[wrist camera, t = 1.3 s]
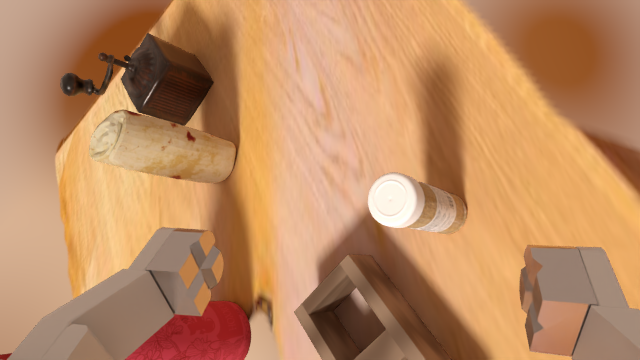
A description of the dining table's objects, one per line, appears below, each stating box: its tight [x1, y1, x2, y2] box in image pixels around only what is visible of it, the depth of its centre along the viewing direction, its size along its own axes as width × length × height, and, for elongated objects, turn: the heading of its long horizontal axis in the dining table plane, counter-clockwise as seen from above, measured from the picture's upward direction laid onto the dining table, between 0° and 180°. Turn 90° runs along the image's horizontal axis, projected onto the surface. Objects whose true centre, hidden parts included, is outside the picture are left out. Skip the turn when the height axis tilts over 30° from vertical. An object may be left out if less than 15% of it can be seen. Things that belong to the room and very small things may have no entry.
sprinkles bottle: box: [368, 173, 467, 234], centre depth 40 cm, size 5×5×14 cm
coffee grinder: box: [60, 33, 214, 126], centre depth 72 cm, size 16×11×18 cm
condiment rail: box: [294, 254, 451, 360], centre depth 44 cm, size 20×10×5 cm, turn 43°
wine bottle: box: [0, 301, 251, 360], centre depth 50 cm, size 10×10×30 cm
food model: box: [89, 110, 236, 183], centre depth 61 cm, size 10×7×20 cm
